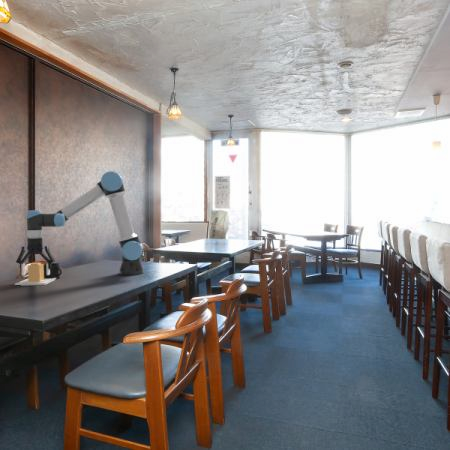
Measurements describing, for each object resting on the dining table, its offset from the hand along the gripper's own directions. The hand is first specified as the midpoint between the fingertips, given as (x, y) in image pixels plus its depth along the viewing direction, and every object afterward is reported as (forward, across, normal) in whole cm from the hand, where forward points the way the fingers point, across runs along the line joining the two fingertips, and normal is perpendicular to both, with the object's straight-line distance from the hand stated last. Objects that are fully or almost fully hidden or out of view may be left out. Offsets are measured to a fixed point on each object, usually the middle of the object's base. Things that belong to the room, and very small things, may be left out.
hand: (36, 275), depth 210 cm
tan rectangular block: (+3, 0, 0) cm, 3 cm away
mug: (+5, -5, -11) cm, 13 cm away
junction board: (+4, 0, -2) cm, 5 cm away
